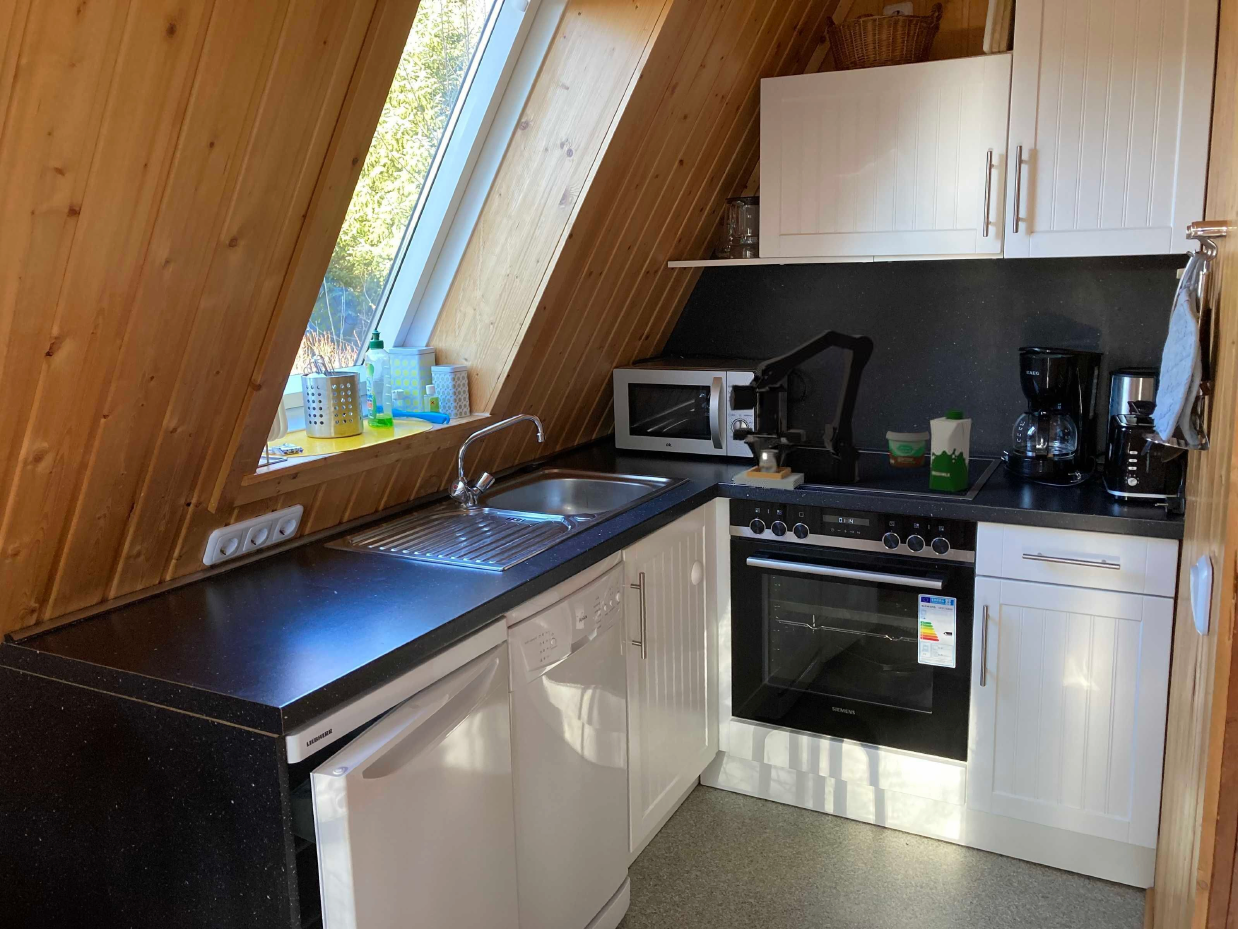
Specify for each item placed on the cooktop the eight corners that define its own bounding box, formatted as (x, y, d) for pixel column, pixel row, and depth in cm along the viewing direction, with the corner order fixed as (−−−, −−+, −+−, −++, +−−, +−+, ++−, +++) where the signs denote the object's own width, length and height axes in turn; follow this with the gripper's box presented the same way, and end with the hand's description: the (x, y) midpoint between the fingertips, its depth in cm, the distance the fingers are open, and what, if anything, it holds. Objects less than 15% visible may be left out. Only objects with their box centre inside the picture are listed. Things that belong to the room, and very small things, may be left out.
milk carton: (972, 487, 260) (975, 411, 257) (955, 493, 254) (958, 414, 250) (940, 483, 266) (943, 408, 263) (923, 489, 260) (926, 412, 256)
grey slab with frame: (803, 482, 271) (803, 468, 271) (793, 490, 262) (793, 475, 261) (745, 478, 278) (745, 464, 278) (733, 486, 269) (733, 471, 268)
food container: (886, 467, 290) (887, 433, 289) (885, 464, 296) (886, 430, 294) (931, 468, 288) (932, 433, 286) (928, 464, 294) (929, 430, 292)
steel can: (781, 471, 271) (781, 450, 270) (775, 475, 266) (775, 453, 265) (762, 470, 273) (762, 449, 272) (756, 474, 269) (756, 452, 267)
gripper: (811, 406, 270) (811, 463, 273) (745, 404, 278) (745, 460, 281) (800, 411, 260) (800, 470, 263) (732, 409, 268) (732, 467, 271)
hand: (769, 466), depth 269 cm, fingers open, 5 cm apart
